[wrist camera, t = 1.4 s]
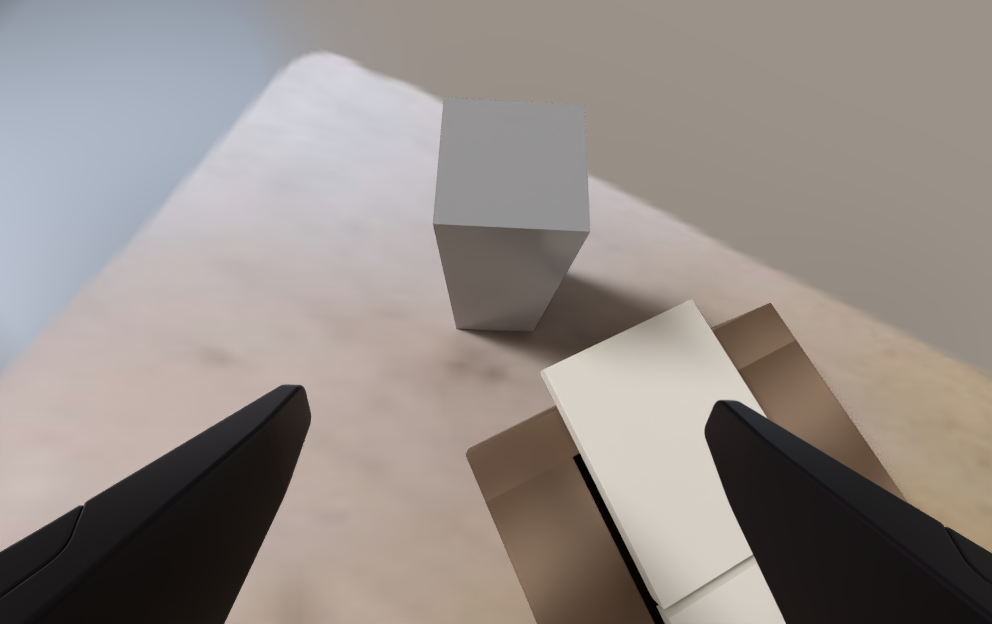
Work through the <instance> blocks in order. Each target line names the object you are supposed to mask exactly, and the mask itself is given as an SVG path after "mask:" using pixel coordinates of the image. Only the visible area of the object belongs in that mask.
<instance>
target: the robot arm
mask: <svg viewBox="0 0 992 624" xmlns="http://www.w3.org/2000/svg"><path fill="white" fill-rule="evenodd" d="M310 422H311V412H310V408H309V403H308V399H307V395H306V391H305V388H304V387H303V386H301V385H281V386H279V387H277V388H276V389H274V390H272V391H271V392H269V393H267V394H266V395H264V396H262V397H261V398H259V399H257V400H256V401H254V402H252V403H251V404H249V405H247V406H246V407H244V408H242V409H241V410H239V411H237V412H236V413H234V414H232V415H230V416H229V417H227V418H225V419H224V420H222V421H220V422H219V423H217V424H215V425H214V426H212V427H210V428H209V429H207V430H205V431H204V432H202V433H200V434H199V435H197V436H195V437H194V438H192V439H190V440H189V441H187V442H185V443H184V444H182V445H180V446H179V447H177V448H175V449H174V450H172V451H170V452H169V453H167V454H165V455H163V456H162V457H160V458H158V459H157V460H155V461H153V462H152V463H150V464H148V465H147V466H145V467H143V468H142V469H140V470H138V471H137V472H135V473H133V474H132V475H130V476H128V477H127V478H125V479H123V480H122V481H120V482H118V483H116V484H115V485H113V486H111V487H110V488H108V489H106V490H105V491H103V492H101V493H100V494H98V495H96V496H95V497H93V498H91V499H90V500H88V501H87V502H85V504H84V506H78V507H76V508H74V509H73V510H71V511H69V512H68V513H66V514H64V515H63V516H61V517H59V518H58V519H56V520H54V521H53V522H51V523H49V524H48V525H46V526H44V527H42V528H41V529H39V530H37V531H36V532H34V533H32V534H30V535H29V536H27V537H25V538H23V539H22V540H20V541H18V542H17V543H15V544H13V545H11V546H10V547H8V548H6V549H4V550H3V551H1V552H0V624H224V623H225V621H226V619H227V617H228V615H229V613H230V610H231V608H232V606H233V604H234V602H235V600H236V598H237V596H238V594H239V591H240V589H241V587H242V585H243V583H244V581H245V579H246V577H247V575H248V572H249V570H250V568H251V566H252V564H253V562H254V560H255V558H256V556H257V553H258V551H259V549H260V547H261V545H262V543H263V541H264V539H265V536H266V534H267V532H268V530H269V528H270V526H271V524H272V522H273V520H274V517H275V515H276V513H277V511H278V509H279V507H280V505H281V503H282V500H283V498H284V496H285V494H286V491H287V489H288V486H289V483H290V481H291V478H292V475H293V472H294V469H295V466H296V464H297V461H298V458H299V455H300V452H301V449H302V446H303V443H304V441H305V438H306V435H307V432H308V429H309V426H310ZM704 434H705V439H706V442H707V444H708V447H709V450H710V453H711V456H712V458H713V461H714V464H715V467H716V469H717V472H718V475H719V478H720V481H721V483H722V486H723V489H724V492H725V494H726V497H727V499H728V502H729V504H730V507H731V509H732V511H733V513H734V516H735V518H736V520H737V522H738V524H739V526H740V528H741V530H742V532H743V534H744V537H745V539H746V541H747V543H748V545H749V547H750V549H751V551H752V553H753V555H754V558H755V560H756V562H757V564H758V566H759V568H760V570H761V572H762V574H763V577H764V579H765V581H766V583H767V585H768V587H769V589H770V591H771V593H772V595H773V598H774V600H775V602H776V604H777V606H778V608H779V610H780V612H781V614H782V617H783V619H784V621H785V623H786V624H992V553H991V552H989V551H987V550H986V549H984V548H982V547H980V546H979V545H977V544H975V543H974V542H972V541H970V540H969V539H967V538H965V537H964V536H962V535H961V534H959V533H957V532H956V531H954V530H952V529H951V528H948V527H944V525H943V524H942V523H940V522H939V521H937V520H935V519H934V518H932V517H930V516H929V515H927V514H925V513H924V512H922V511H920V510H919V509H917V508H915V507H914V506H912V505H910V504H909V503H907V502H906V501H904V500H902V499H901V498H899V497H897V496H896V495H894V494H892V493H891V492H889V491H887V490H886V489H884V488H882V487H881V486H879V485H877V484H876V483H874V482H872V481H871V480H869V479H867V478H866V477H864V476H862V475H861V474H859V473H857V472H856V471H854V470H852V469H851V468H849V467H847V466H846V465H844V464H842V463H841V462H839V461H837V460H836V459H834V458H832V457H831V456H829V455H827V454H826V453H824V452H822V451H821V450H819V449H817V448H816V447H814V446H812V445H811V444H809V443H807V442H806V441H804V440H802V439H801V438H799V437H797V436H796V435H794V434H792V433H791V432H789V431H787V430H786V429H784V428H783V427H781V426H779V425H778V424H776V423H774V422H773V421H771V420H769V419H768V418H766V417H764V416H763V415H761V414H759V413H758V412H756V411H754V410H753V409H751V408H749V407H748V406H746V405H744V404H743V403H741V402H739V401H736V400H718V401H717V402H716V403H715V404H714V406H713V408H712V411H711V413H710V415H709V418H708V420H707V422H706V425H705V429H704Z"/></svg>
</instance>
